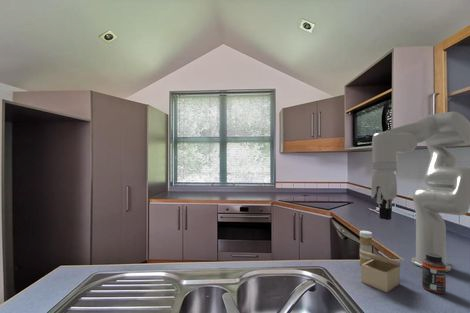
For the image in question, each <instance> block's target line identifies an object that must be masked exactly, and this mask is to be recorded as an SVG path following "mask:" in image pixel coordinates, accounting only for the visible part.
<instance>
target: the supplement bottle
mask: <svg viewBox="0 0 470 313" xmlns="http://www.w3.org/2000/svg"><path fill="white" fill-rule="evenodd" d="M421 271H422V272H421V274H422V275H421V277H422V278H421V279H422V281H421V283H422V284H421V286H422V288H423V289H425V290H427V291H428V292H430V293H433V294H440V295H443V294H445V293H446V290H447V288H446V285H447V284H446V282H447V281H446V280H447V279H446V278H447V276H446V275H447V272H446V266H445V264H444V263H443V262H442V257H441V256H440V255H437V254H434V253H426V259H424V260H423V262H422V267H421Z"/></svg>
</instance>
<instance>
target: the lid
mask: <svg viewBox="0 0 470 313" xmlns="http://www.w3.org/2000/svg"><path fill="white" fill-rule="evenodd" d="M360 254H361V255H364V256H367V257H370V258H372V259H377V260H380V261H383V262H386V263H391V264H395V265H398V266H400V267H401V264H402V263H400V262H398V261H395V260H392V259H389V257H385V256H382V255H378V254H375V253H373V252H372V253H369V252H365V251H362V250H361V251H360V250H359V255H360Z"/></svg>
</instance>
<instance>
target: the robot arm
mask: <svg viewBox="0 0 470 313" xmlns="http://www.w3.org/2000/svg"><path fill="white" fill-rule="evenodd" d="M371 139H372V141H371V149H372V177H371V189H370V190H371V191H370V193H371V194H370V196H371V198H372V199H373V200H374V199H375V200H376V203H377V204H378V208H379V213H378V214H379V219H380V220H387V221H390V220H392V204H393V201H394V199H396V198H397V196H398V195H397V193H398V190H397V189H398V188H397V187H398V184H397V173H396V172H398V169H399V168H398V167H399V166H398V154H408V153H409V154H410V153H411V152H414V150H415V149H416V148H417V147H418V144H420V143H423V142H425V145H426V147H427V150H428V153H429V155H430V158H429V161H428V165H427V168H426V171H425V173H424V178H423V180H424V181H423V182H424V184H425V186H427V187H419V188H417V189H416V190H415V191H414V192H413V193H412V194H413V195H412V201H413V205H414V209H415V210H414V212H415V256H413V257H411V263H412V264H414V265H416V267H417V266H418V267H420V268H422V262H423V260H424V259H426V253H434V254H437V255H440V256H441V257H442V262H443V263H444V264H445V266H446V273H447V272H451V271H452V267H451V265H450V264H449V263H447V233H446V232H447V228H446V227H447V226H446V222H445V220H444V218H443V216H441V214H445V215H447V214H448V215H452V216H464V215H466V214H467V213H468V211H469V210H470V167H467V166H455V165H456V162H457V160H456V156H455V155H454V154H453V153H452V152H451V151H450V150H448V149H447V148H446V147H458V146H460V147H463V146H470V121H469V120H468V118H466V117H465V115H463V114H462V113H460V112H457V111H447V112H439V113H433V114H428V115H425V116H424V115H423V117H420V118H419V119H417V120H415V121H413V122H410V123H407V124H403V125H401V126H396V127H394V128H391V129H387V130H385V131H383V132H382V131H381V132H376V133H374V134H373V135H372V138H371Z"/></svg>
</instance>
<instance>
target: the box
mask: <svg viewBox="0 0 470 313" xmlns="http://www.w3.org/2000/svg"><path fill="white" fill-rule="evenodd" d="M360 266H361V280H360V282H361V283H363V284H365V285H367V286H369V287H372V288H374V289H377V290H379V291H382V292H385V293H389V292H390V291H392V290H393V289H395V288H396V287H397V286H399V285H400V273H401V272H400V267H401V265H400V266H398V265H395V264H391V263H386V262H383V261H380V260H377V259H374V258H372V260H370V261H368V262H366V263H364V264H361V265H360Z"/></svg>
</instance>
